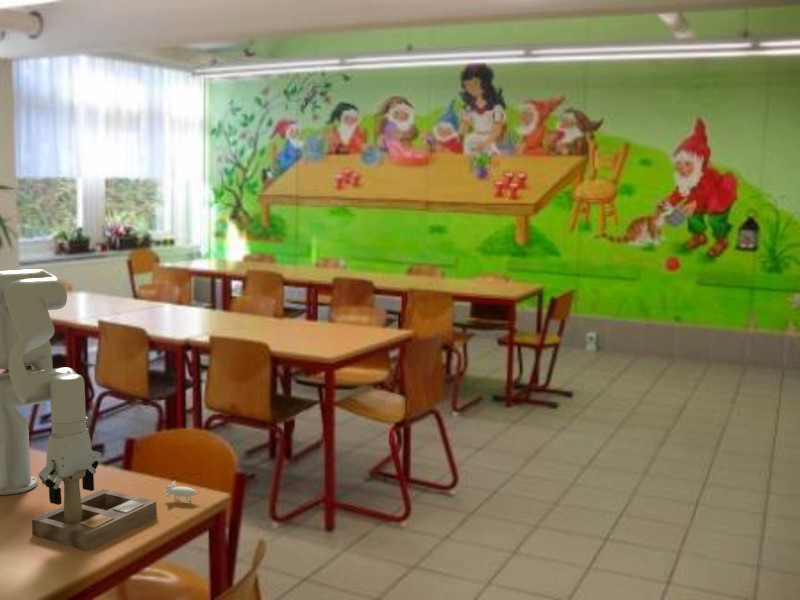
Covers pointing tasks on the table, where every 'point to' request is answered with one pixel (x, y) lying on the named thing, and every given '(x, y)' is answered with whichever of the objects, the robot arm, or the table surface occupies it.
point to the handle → (73, 498)
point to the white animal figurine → (180, 491)
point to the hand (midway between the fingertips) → (72, 496)
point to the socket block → (96, 519)
